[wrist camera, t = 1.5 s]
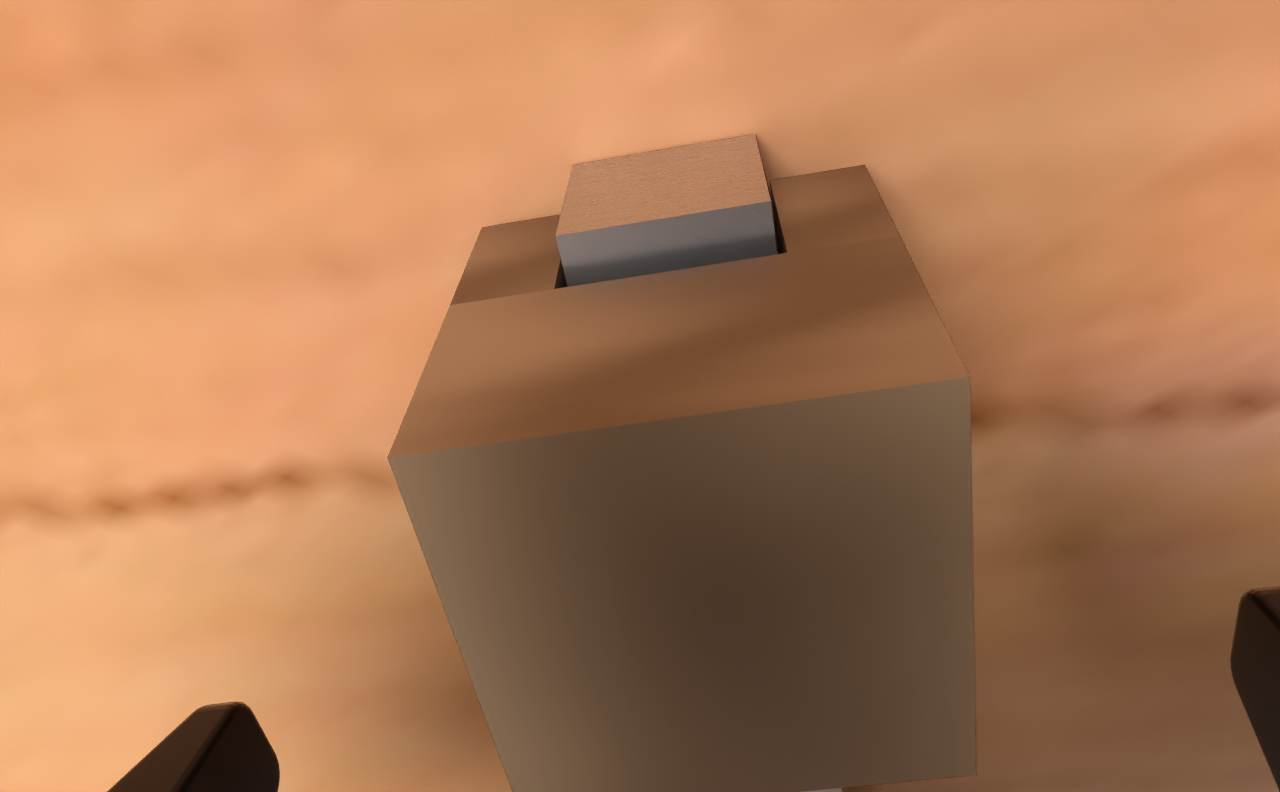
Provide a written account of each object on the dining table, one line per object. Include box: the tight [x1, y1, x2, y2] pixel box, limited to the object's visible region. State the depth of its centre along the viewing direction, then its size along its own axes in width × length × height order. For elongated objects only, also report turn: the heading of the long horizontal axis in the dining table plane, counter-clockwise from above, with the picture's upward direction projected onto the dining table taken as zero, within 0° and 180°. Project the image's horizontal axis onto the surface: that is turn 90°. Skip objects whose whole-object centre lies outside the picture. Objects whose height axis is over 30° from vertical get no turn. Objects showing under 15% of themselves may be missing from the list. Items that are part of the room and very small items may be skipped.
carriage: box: [388, 165, 977, 792], centre depth 12 cm, size 5×5×5 cm
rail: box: [555, 134, 842, 792], centre depth 16 cm, size 2×15×2 cm, turn 10°
